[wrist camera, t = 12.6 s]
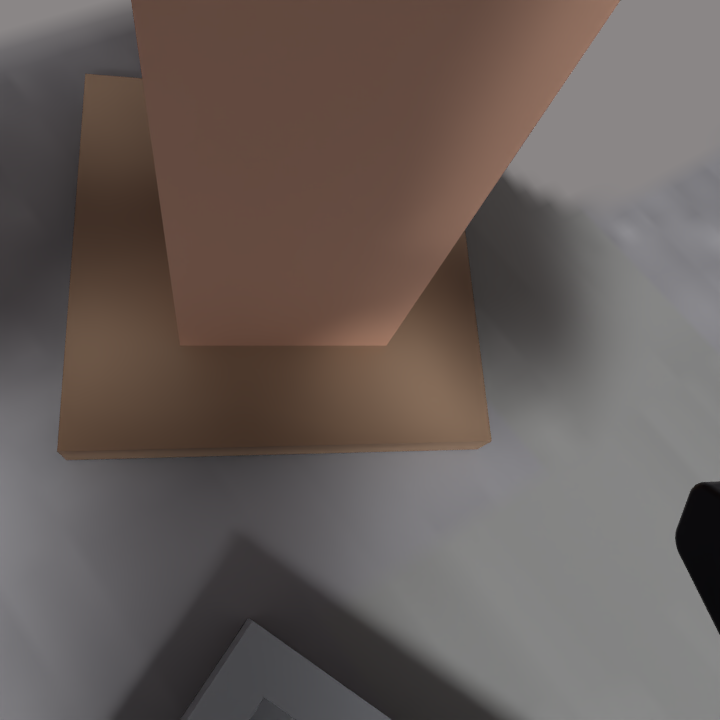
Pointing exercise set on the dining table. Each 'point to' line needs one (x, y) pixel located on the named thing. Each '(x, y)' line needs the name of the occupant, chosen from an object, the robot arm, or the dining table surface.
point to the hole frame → (273, 684)
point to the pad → (235, 363)
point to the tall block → (335, 149)
